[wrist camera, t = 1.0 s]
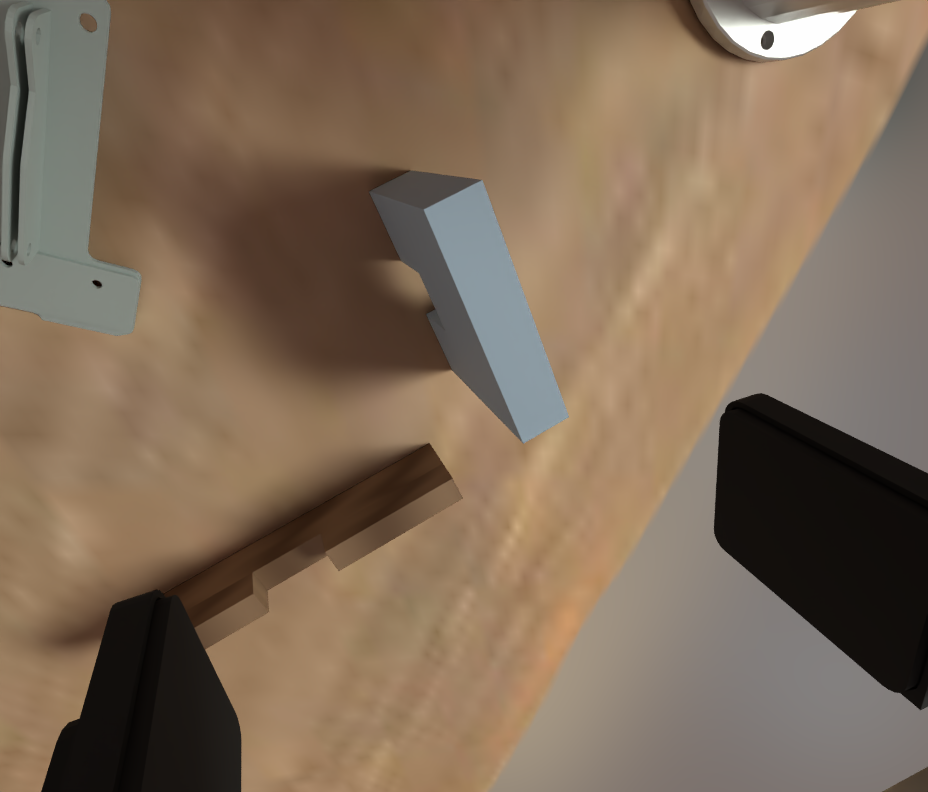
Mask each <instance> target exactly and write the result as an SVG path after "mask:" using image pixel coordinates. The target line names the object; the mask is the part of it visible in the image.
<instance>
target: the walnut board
mask: <svg viewBox="0 0 928 792" xmlns="http://www.w3.org/2000/svg"><path fill="white" fill-rule="evenodd" d="M461 499H463V497H462V495H461V494H460V492H459V490H458V488H457V486H456V484H455V482H454V480H453V478H452V477H451V475H450V474H449V472H448V471H447V469H446V468H445V466H444V465H443V463H442V462H441V460H440V458H439V457H438V455H437V454H436V452H435V451H434V449H433V448H432V446H431V445H430V443H429V444H428V445H426V446H424V447H422V448H421V449H419V450H417V451H415V452H414V453H412V454H410V455H408V456H406V457H405V458H403V459H401V460H399V461H398V462H396V463H394V464H392V465H391V466H389V467H387V468H385V469H384V470H382V471H380V472H378V473H376V474H375V475H373V476H371V477H369V478H368V479H366V480H364V481H362V482H361V483H359V484H357V485H355V486H354V487H352V488H350V489H348V490H346V491H345V492H343V493H341V494H339V495H338V496H336V497H334V498H332V499H331V500H329V501H327V502H325V503H323V504H322V505H320V506H318V507H316V508H315V509H313V510H311V511H309V512H308V513H306V514H304V515H302V516H301V517H299V518H297V519H295V520H293V521H292V522H290V523H288V524H286V525H285V526H283V527H281V528H279V529H278V530H276V531H274V532H272V533H271V534H269V535H267V536H265V537H263V538H262V539H260V540H258V541H256V542H255V543H253V544H251V545H249V546H248V547H246V548H244V549H242V550H240V551H239V552H237V553H235V554H233V555H232V556H230V557H228V558H226V559H225V560H223V561H221V562H219V563H218V564H216V565H214V566H212V567H210V568H209V569H207V570H205V571H203V572H202V573H200V574H198V575H196V576H195V577H193V578H191V579H189V580H188V581H186V582H184V583H182V584H180V585H179V586H177V587H175V588H173V589H172V590H170V591H168V592H166V593H165V594H164V596H165V598H166V597H169V596H172V595H177V596H178V597H179V598H180V600H181V602H182V604H183V606H184V608H185V610H186V612H187V614H188V616H189V618H190V620H191V622H192V624H193V626H194V628H195V630H196V633H197V635H198V637H199V639H200V641H201V643H202V645H203V647H204V649H207V648H208V647H210V646H212V645H213V644H215V643H217V642H219V641H220V640H222V639H224V638H225V637H227V636H229V635H231V634H232V633H234V632H236V631H237V630H239V629H241V628H243V627H244V626H246V625H248V624H249V623H251V622H253V621H254V620H256V619H258V618H260V617H261V616H263V615H265V614H266V613H268V612H269V606H268V592H267V590H269V589H271V588H273V587H274V586H276V585H278V584H279V583H281V582H283V581H285V580H286V579H288V578H290V577H291V576H293V575H295V574H297V573H298V572H300V571H302V570H304V569H305V568H307V567H309V566H310V565H312V564H314V563H316V562H317V561H319V560H321V559H323V558H324V557H326V556H328V557H329V558H330V560H331V561H332V562H333V564H334V565H335V567H336V568H337V569H338V571H340V570H342V569H343V568H345V567H347V566H348V565H350V564H352V563H354V562H355V561H357V560H359V559H360V558H362V557H364V556H365V555H367V554H369V553H371V552H372V551H374V550H376V549H377V548H379V547H381V546H383V545H384V544H386V543H388V542H389V541H391V540H393V539H395V538H396V537H398V536H400V535H401V534H403V533H405V532H406V531H408V530H410V529H412V528H413V527H415V526H417V525H418V524H420V523H422V522H424V521H425V520H427V519H429V518H430V517H432V516H434V515H435V514H437V513H439V512H441V511H442V510H444V509H446V508H447V507H449V506H451V505H453V504H454V503H456V502H458V501H459V500H461Z"/></svg>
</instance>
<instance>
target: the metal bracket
mask: <svg viewBox="0 0 928 792" xmlns="http://www.w3.org/2000/svg"><path fill="white" fill-rule="evenodd" d="M83 13H86V14H90V15H91V16H93V17H94V19H95V20H96V22H97V29H96V31H94V32H90V31H87V30H86V29H84V28H83V26H82V25H81V23H80V16H81V14H83ZM110 18H111V9H110V5H109V3H108V2H107V0H0V306H5V307H10V308H15V309H19V310H24V311H29V312H33V313H35V314H38V315H39V316H40V317H41V319H42V320H46V321H50V322H55V323H60V324H64V325H69V326H74V327H78V328H83V329H87V330H92V331H97V332H101V333H106V334H111V335H115V336H119V335H126V334H130V333H131V332H132V331H133V329H134V325H135V318H136V312H137V305H138V299H139V292H140V286H141V275H140V273H139V272H138V271H136V270H134V269H131V268H127V267H123V266H119V265H115V264H111V263H107V262H103V261H99V260H96V259H94V258H92V257H91V255H90V254H89V252H88V244H89V233H90V223H91V213H92V203H93V192H94V182H95V172H96V162H97V151H98V141H99V131H100V121H101V111H102V100H103V90H104V80H105V70H106V59H107V49H108V39H109V29H110ZM2 259H3V260H4V261H9V262H12V264H13V265H11V266H10V265H6V264H5V263H4V262H3V261H2ZM94 280H98V281H100V282H101V283H102V286H100V287H98V286H95V285H94V284H93V282H92V281H94Z"/></svg>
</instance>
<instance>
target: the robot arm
mask: <svg viewBox="0 0 928 792" xmlns="http://www.w3.org/2000/svg"><path fill="white" fill-rule="evenodd" d="M895 1H900V0H690V2H691V4H692V6H693V8H694V10H695V12H696V14H697V17H698V19H699V21H700V22H701V23H702V25H703V26H704V27H705V29H706V30H707V31H708V33H709V34H710V35H711V37H712V38H713V39H714V40H715V41H716V42H718V43H719V44H720V45H721V46H722V47H724V48H725V49H726V50H727V51H728V52H730V53H733V54H735V55H737V56H739V57H741V58H743V59H746V60H752V61H758V62H770V61H779V60H786V59H790V58H794V57H798V56H802V55H804V54H806V53H808V52H810V51H812V50H814V49H816V48H818V47H820V46H821V45H823V44H824V43H825V42H826V41H828V40H829V39H830V38H831V37H833V36H834V35H835V34H836V33H838V32H839V31H840V29H841V28H842V27H843V26H844V25H845V24H846V23H847V22H848V21H849V19H850V18H851V17H852V16H853V15H854V14H855V12H856V11H857V10H859V9H864V8H868V7H873V6H877V5H882V4H886V3H891V2H895ZM714 534H715V537H716V539H717V541H718V543H719V545H720V546H721V547H722V548H723V549H724V550H725V551H726V552H727V553H728V554H729V555H731V556H732V557H733V558H734V559H735V560H736V561H737V562H739V563H740V564H741V565H742V566H743V567H745V568H746V569H747V570H748V571H749V572H750V573H752V574H753V575H754V576H755V577H756V578H757V579H759V580H760V581H761V582H762V583H763V584H765V585H766V586H767V587H768V588H769V589H770V590H772V591H773V592H774V593H775V594H776V595H777V596H779V597H780V598H781V599H782V600H783V601H784V602H786V603H787V604H788V605H789V606H790V607H792V608H793V609H794V610H795V611H796V612H797V613H798V614H800V615H801V616H802V617H803V618H804V619H805V620H807V621H808V622H809V623H810V624H811V625H813V626H814V627H815V628H816V629H817V630H818V631H819V632H821V633H822V634H823V635H824V636H825V637H826V638H828V639H829V640H830V641H831V642H832V643H834V644H835V645H836V646H837V647H838V648H839V649H841V650H842V651H843V652H844V653H845V654H846V655H848V656H849V657H850V658H851V659H852V660H854V661H855V662H856V663H857V664H858V665H859V666H861V667H862V668H863V669H864V670H865V671H866V672H868V673H869V674H870V675H871V676H872V677H873V678H874V679H876V680H877V681H878V682H879V683H880V684H882V685H883V686H884V687H886V688H887V689H888V690H891V691H893V692H897V693H901V694H902V695H903V696H904V697H906V698H907V699H908V700H909V701H910V702H912V703H913V704H914V705H915V706H916V707H917V708H919V709H920V710H922V709H924V708H926V707H928V473H926V472H924V471H922V470H920V469H918V468H916V467H913V466H912V465H909V464H908V463H905V462H903V461H901V460H899V459H897V458H895V457H893V456H891V455H889V454H887V453H885V452H883V451H881V450H879V449H876V448H875V447H873V446H871V445H868V444H866V443H864V442H862V441H860V440H858V439H856V438H854V437H852V436H850V435H848V434H846V433H844V432H842V431H840V430H838V429H836V428H834V427H831V426H829V425H827V424H825V423H823V422H821V421H819V420H817V419H815V418H813V417H811V416H809V415H807V414H805V413H803V412H801V411H799V410H797V409H795V408H793V407H791V406H789V405H787V404H784V403H782V402H780V401H778V400H776V399H774V398H772V397H770V396H768V395H765V394H762V393H760V394H754V395H751V396H748V397H745V398H742V399H739V400H736V401H733V402H731V403H730V404H728V405H727V407H726V409H725V413H724V414H723V415H722V416H721V419H720V428H719V447H718V465H717V483H716V502H715V519H714ZM41 792H241V731H240V726H239V721H238V718H237V715H236V713H235V711H234V709H233V707H232V704H231V702H230V700H229V698H228V696H227V694H226V692H225V690H224V688H223V686H222V684H221V682H220V680H219V678H218V676H217V674H216V672H215V670H214V667H213V665H212V663H211V661H210V659H209V657H208V655H207V653H206V651H205V649H204V647H203V645H202V643H201V641H200V639H199V637H198V635H197V633H196V630H195V628H194V626H193V624H192V622H191V620H190V618H189V616H188V614H187V612H186V610H185V608H184V606H183V604H182V602H181V600H180V598H179V597H178V596H177V595H172V596H169V597H166V598H165V596H164V594H163V593H162V592H161V591H160V590H154V591H151V592H148V593H145V594H142V595H139V596H136V597H133V598H130V599H127V600H124V601H121V602H117V603H115V604H114V605H113V606H112V608H111V610H110V614H109V617H108V621H107V624H106V628H105V631H104V635H103V638H102V642H101V645H100V649H99V652H98V656H97V659H96V663H95V666H94V670H93V673H92V677H91V680H90V684H89V688H88V691H87V695H86V698H85V702H84V705H83V709H82V712H81V716H80V719H77V720H75V721H72V722H69V723H68V724H67V725H66V726H65V727H64V728H63V730H62V731H61V733H60V736H59V738H58V740H57V743H56V746H55V749H54V752H53V755H52V759H51V762H50V765H49V768H48V771H47V775H46V778H45V781H44V784H43V788H42V791H41ZM883 792H928V767H927V768H925V769H923V770H921V771H920V772H918V773H916V774H914V775H912V776H910V777H909V778H907V779H905V780H903V781H901V782H899V783H897V784H896V785H894V786H892V787H890V788H888V789H886V790H885V791H883Z"/></svg>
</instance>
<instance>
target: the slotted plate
mask: <svg viewBox="0 0 928 792" xmlns="http://www.w3.org/2000/svg"><path fill="white" fill-rule="evenodd" d="M369 193H370V195H371V197H372V199H373V202H374V204H375V206H376V208H377V210H378V212H379V214H380V217H381V219H382V221H383V223H384V225H385V227H386V229H387V232H388V234H389V236H390V238H391V240H392V242H393V244H394V247H395V249H396V251H397V253H398V255H399V257H400V259H401V261H402V262H404V263H405V264H406V265H408V266H409V267H411V268H412V269H414V270H415V271H417V272H418V273H419V274H420V276H421V279H422V281H423V283H424V285H425V287H426V289H427V292H428V294H429V296H430V298H431V300H432V303H433V305H434V307H435V310H433V311H431V312H429V313H427V314H426V315H427V317H428V320H429V322H430V324H431V326H432V328H433V330H434V332H435V335H436V337H437V339H438V341H439V343H440V345H441V347H442V350H443V352H444V354H445V356H446V358H447V360H448V362H449V365H450V367H451V369H452V371H453V372H454V373H455V374H456V375H457V376H458V377H459V378H460V379H461V380H462V381H463V382H464V383H465V384H466V385H467V386H468V387H469V388H470V389H471V390H472V391H473V392H474V393H475V394H476V395H477V396H478V397H479V398H480V399H481V400H482V402H483V403H484V404H485V405H486V406H487V407H488V408H489V409H490V410H491V411H492V412H493V413H494V414H495V415H496V416H497V417H498V418H499V419H500V420H501V421H502V422H503V423H504V424H505V425H506V426H507V427H508V428H509V429H510V430H511V431H512V432H513V433H514V434H515V435H516V437H517V438H518V439H519V440H520V441H521V442H522V443H525V442H527V441H528V440H530V439H532V438H534V437H535V436H537V435H539V434H541V433H542V432H544V431H546V430H547V429H549V428H551V427H553V426H554V425H556V424H558V423H560V422H561V421H563V420H565V419H566V418H568V417H569V416H568V413H567V410H566V407H565V405H564V402H563V399H562V396H561V394H560V391H559V388H558V385H557V383H556V380H555V377H554V375H553V372H552V369H551V366H550V364H549V361H548V358H547V355H546V353H545V350H544V347H543V345H542V342H541V339H540V336H539V334H538V331H537V328H536V325H535V323H534V320H533V317H532V314H531V312H530V309H529V306H528V304H527V301H526V298H525V295H524V293H523V290H522V287H521V284H520V282H519V279H518V276H517V273H516V271H515V268H514V265H513V263H512V260H511V257H510V254H509V252H508V249H507V246H506V243H505V241H504V238H503V235H502V232H501V230H500V227H499V224H498V222H497V219H496V216H495V213H494V211H493V208H492V205H491V202H490V200H489V197H488V194H487V191H486V189H485V186H484V183H483V181H482V180H478V179H471V178H463V177H456V176H448V175H441V174H433V173H426V172H418V171H409V172H407V173H405V174H403V175H401V176H399V177H397V178H395V179H393V180H391V181H389V182H387V183H385V184H383V185H381V186H379V187H377V188H375V189H373V190H371V191H369Z"/></svg>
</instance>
